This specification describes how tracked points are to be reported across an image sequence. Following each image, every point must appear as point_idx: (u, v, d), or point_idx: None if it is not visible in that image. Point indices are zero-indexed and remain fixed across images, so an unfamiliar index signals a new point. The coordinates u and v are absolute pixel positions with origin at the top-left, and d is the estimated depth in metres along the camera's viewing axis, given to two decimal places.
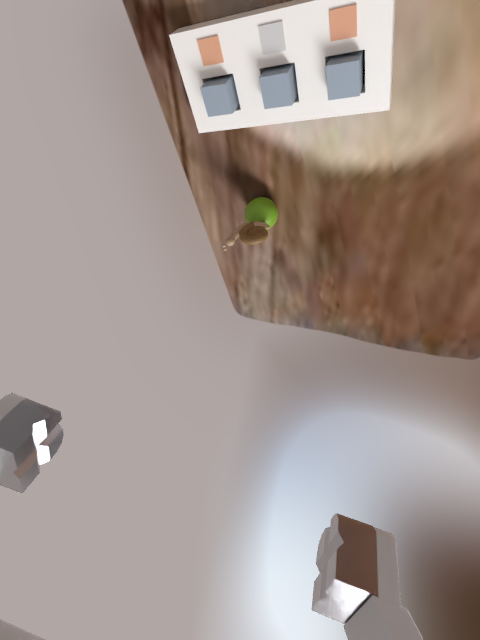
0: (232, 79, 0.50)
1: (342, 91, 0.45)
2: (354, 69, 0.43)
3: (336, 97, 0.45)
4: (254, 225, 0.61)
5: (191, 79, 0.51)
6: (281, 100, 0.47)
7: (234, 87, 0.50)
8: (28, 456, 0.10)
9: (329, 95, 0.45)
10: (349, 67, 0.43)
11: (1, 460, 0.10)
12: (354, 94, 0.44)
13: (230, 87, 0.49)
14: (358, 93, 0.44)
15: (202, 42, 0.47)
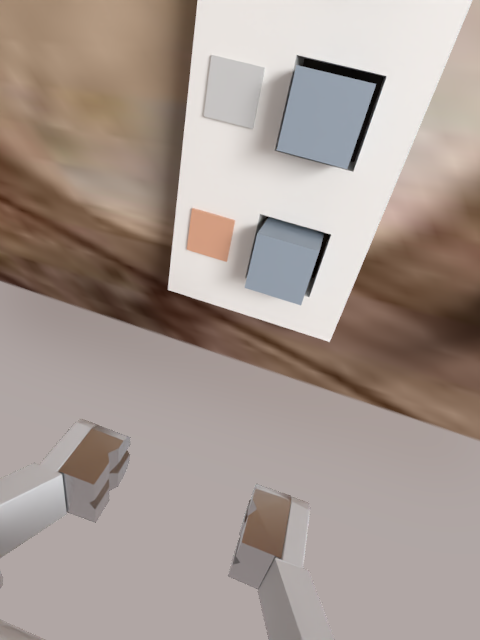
0: (272, 221, 0.24)
1: None
2: None
3: None
4: None
5: (238, 296, 0.26)
6: (349, 111, 0.17)
7: (286, 226, 0.23)
8: (103, 485, 0.10)
9: None
10: None
11: (79, 491, 0.09)
12: None
13: (276, 229, 0.23)
14: None
15: (194, 242, 0.25)
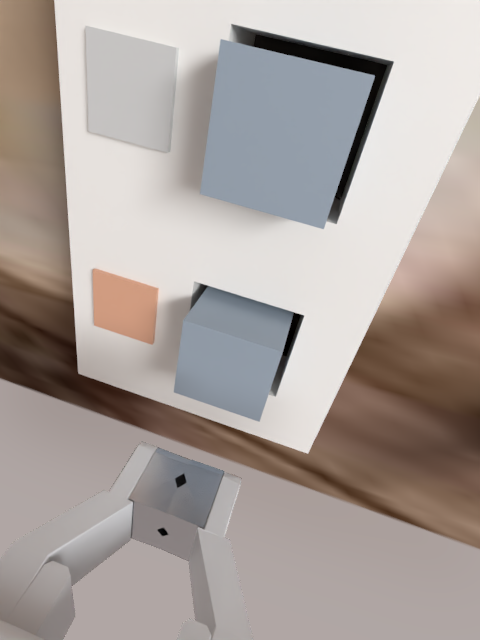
0: (215, 290, 0.15)
1: None
2: None
3: None
4: None
5: None
6: (325, 128, 0.09)
7: (237, 297, 0.15)
8: None
9: None
10: None
11: (148, 518, 0.09)
12: None
13: (219, 307, 0.14)
14: None
15: (104, 314, 0.17)
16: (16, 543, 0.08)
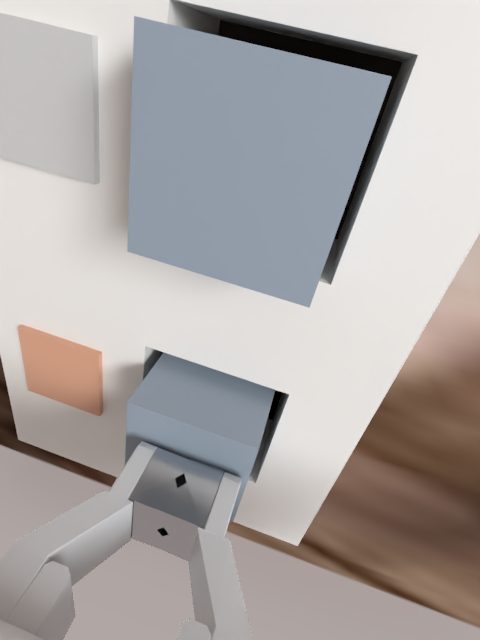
0: None
1: None
2: None
3: None
4: None
5: None
6: (308, 161, 0.06)
7: None
8: None
9: None
10: None
11: (148, 518, 0.09)
12: None
13: (179, 379, 0.11)
14: None
15: (39, 378, 0.13)
16: (16, 543, 0.08)
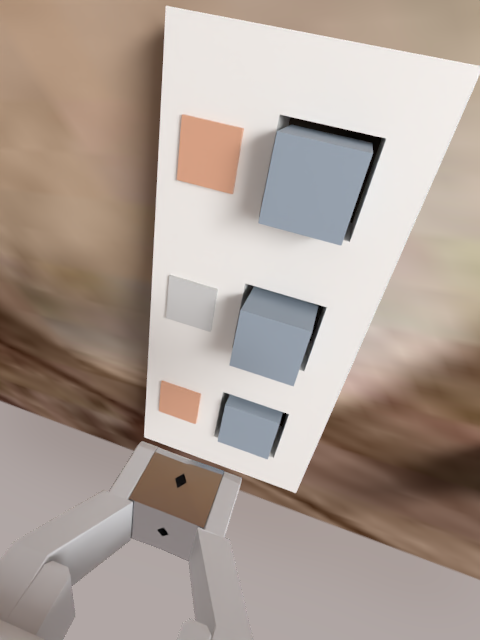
0: None
1: (336, 200, 0.15)
2: (294, 150, 0.15)
3: (344, 221, 0.15)
4: None
5: (209, 449, 0.28)
6: (291, 347, 0.19)
7: None
8: None
9: (330, 238, 0.16)
10: (284, 162, 0.15)
11: (148, 518, 0.09)
12: (360, 168, 0.14)
13: None
14: (363, 155, 0.14)
15: (165, 405, 0.27)
16: (16, 543, 0.08)
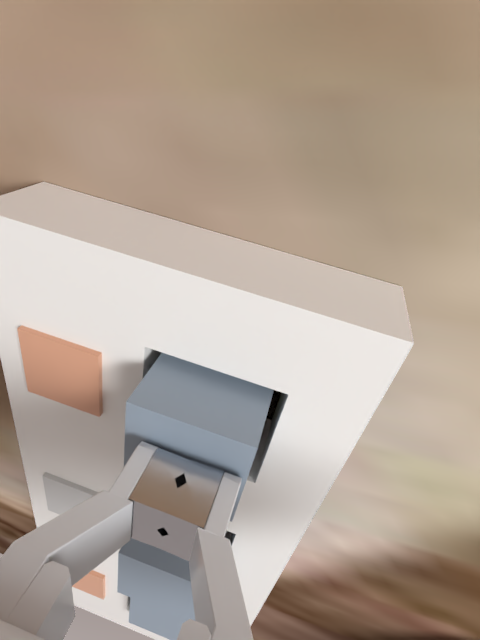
0: None
1: None
2: (153, 424, 0.10)
3: None
4: None
5: (123, 618, 0.24)
6: (186, 595, 0.15)
7: None
8: None
9: None
10: (142, 433, 0.11)
11: (148, 518, 0.09)
12: (244, 458, 0.10)
13: None
14: (245, 447, 0.10)
15: None
16: (16, 543, 0.08)
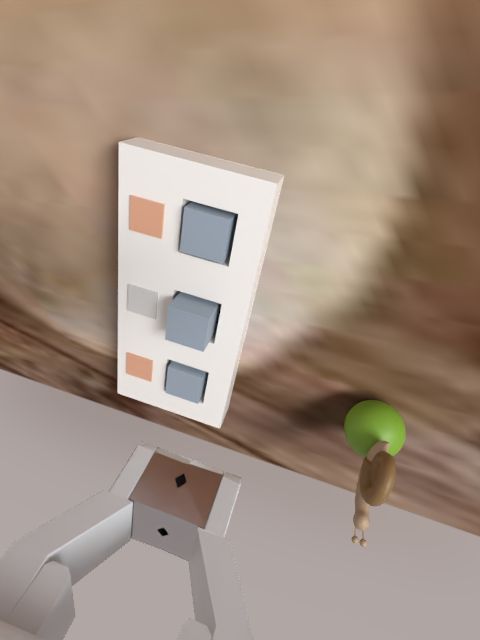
0: None
1: (216, 241, 0.29)
2: (193, 216, 0.29)
3: (221, 251, 0.30)
4: (370, 460, 0.33)
5: (161, 399, 0.41)
6: (198, 327, 0.32)
7: None
8: None
9: (216, 259, 0.30)
10: (189, 222, 0.29)
11: (148, 518, 0.09)
12: (225, 226, 0.28)
13: None
14: (226, 220, 0.28)
15: (130, 369, 0.40)
16: (16, 543, 0.08)
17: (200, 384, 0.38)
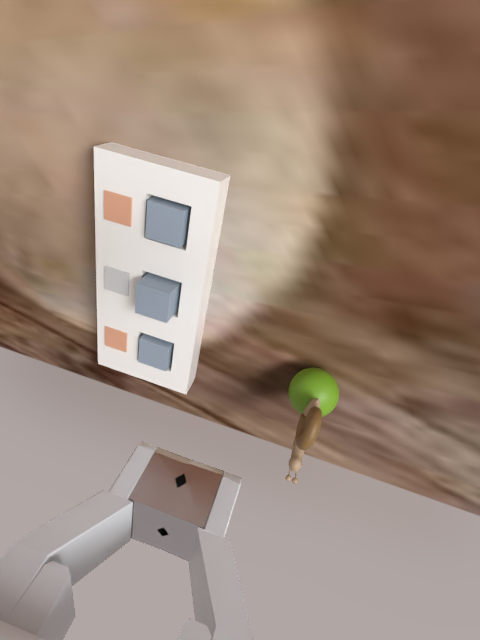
0: None
1: (174, 228, 0.36)
2: (155, 208, 0.35)
3: (179, 237, 0.36)
4: (305, 415, 0.39)
5: (135, 369, 0.47)
6: (161, 302, 0.38)
7: None
8: None
9: (175, 244, 0.36)
10: (151, 212, 0.35)
11: (148, 518, 0.09)
12: (181, 216, 0.35)
13: None
14: (181, 211, 0.34)
15: (108, 341, 0.46)
16: (16, 543, 0.08)
17: (167, 353, 0.44)
